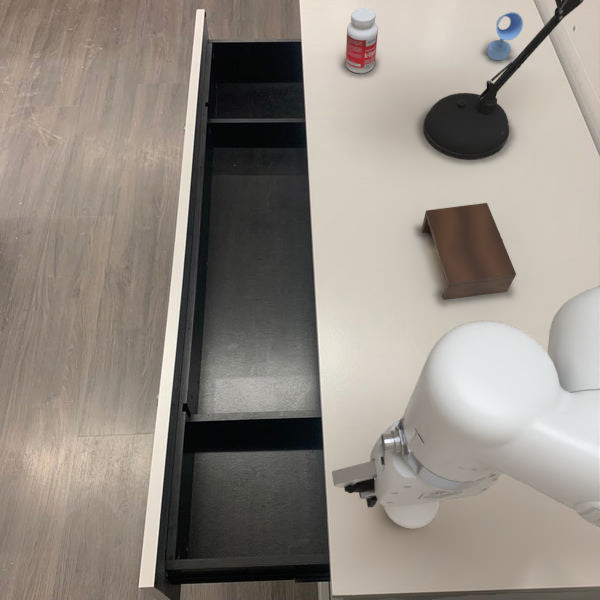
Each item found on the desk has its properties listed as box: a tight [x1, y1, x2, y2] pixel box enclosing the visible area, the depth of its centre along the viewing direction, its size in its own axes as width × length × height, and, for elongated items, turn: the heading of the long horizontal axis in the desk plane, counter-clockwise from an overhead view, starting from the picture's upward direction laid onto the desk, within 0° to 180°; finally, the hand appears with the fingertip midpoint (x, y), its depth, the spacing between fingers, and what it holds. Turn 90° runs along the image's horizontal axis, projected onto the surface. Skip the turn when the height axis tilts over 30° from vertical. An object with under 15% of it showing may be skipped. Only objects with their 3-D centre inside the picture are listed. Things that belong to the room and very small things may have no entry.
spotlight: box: [486, 11, 524, 61], centre depth 107 cm, size 5×10×7 cm
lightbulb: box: [383, 501, 441, 530], centre depth 61 cm, size 6×6×11 cm
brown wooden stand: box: [421, 202, 517, 301], centre depth 83 cm, size 10×14×5 cm
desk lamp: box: [422, 0, 585, 160], centre depth 81 cm, size 24×26×45 cm
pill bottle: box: [345, 7, 379, 74], centre depth 107 cm, size 6×6×11 cm
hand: (414, 484), depth 54 cm, fingers open, 9 cm apart
